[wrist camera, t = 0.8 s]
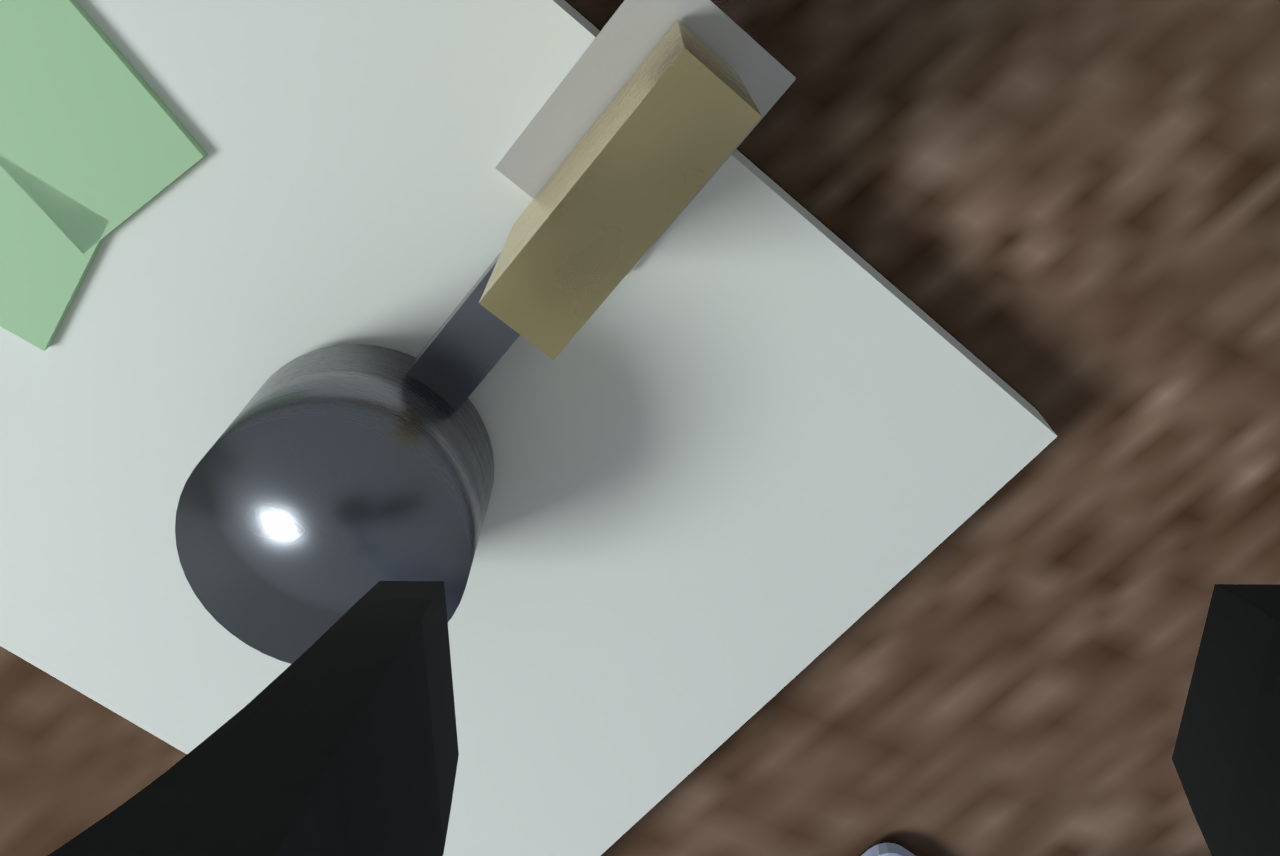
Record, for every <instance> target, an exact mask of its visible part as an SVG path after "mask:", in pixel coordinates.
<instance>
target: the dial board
mask: <svg viewBox="0 0 1280 856" xmlns="http://www.w3.org/2000/svg"><path fill="white" fill-rule="evenodd" d="M676 19H678V20H679V21H680V22H681V23H682V24H684V25H685V26H686V27H687V28H688V29H689V30H690V31H691V32H693V33H694V34H695V35H696V36H697V37H698V38H699V39H700V40H702V41H703V42H704V43H705V44H706V45H707V46H708V47H709V48H710V49H712V50H713V51H714V52H715V53H716V54H717V55H718V56H719V57H721V58H722V59H723V60H724V61H725V62H726V63H727V64H728V65H730V66H731V67H732V68H733V69H734V70H735V71H736V72H737V73H738V74H739V76H740V78H741V79H742V81H743V83H744V85H745V87H746V88H747V90H748V92H749V94H750V96H751V97H752V99H753V101H754V103H755V105H756V106H757V108H758V110H759V112H760V114H761V115H762V117H761V118H760V119H759V121H758V122H757V123H756V124H755V125H754V126H753V128H752V129H751V130H750V131H749V132H748V133H747V135H746V136H745V137H744V138H743V139H742V140H741V142H740V143H739V144H738V145H737V146H736V147H735V149H734V150H733V151H732V152H731V153H730V154H729V156H728V157H727V158H726V159H725V160H724V161H723V163H722V164H721V165H720V166H719V167H718V168H717V170H716V171H715V172H714V173H713V174H712V175H711V177H710V178H709V179H708V180H707V181H706V182H705V184H704V185H703V186H702V187H701V188H700V190H699V191H698V192H697V193H696V194H695V195H694V197H693V198H692V199H691V200H690V201H689V202H688V204H687V205H686V206H685V207H684V208H683V209H682V211H681V212H680V213H679V214H678V215H677V216H676V218H675V219H674V220H673V221H672V222H671V223H670V225H669V226H668V227H667V228H666V229H665V230H664V232H663V233H662V234H661V235H660V236H659V237H658V239H657V240H656V241H655V242H654V243H653V244H652V246H651V247H650V248H649V249H648V250H647V251H646V253H645V254H644V255H643V256H642V257H641V258H640V260H639V261H638V262H637V263H636V264H635V266H634V267H633V268H632V269H631V270H630V271H629V273H628V274H627V275H626V276H625V277H624V278H623V280H622V281H621V282H620V283H619V284H618V285H617V287H616V288H615V289H614V290H613V291H612V292H611V294H610V295H609V296H608V297H607V298H606V299H605V301H604V302H603V303H602V304H601V305H600V306H599V308H598V309H597V310H596V311H595V312H594V313H593V315H592V316H591V317H590V318H589V319H588V320H587V322H586V323H585V324H584V325H583V326H582V327H581V329H580V330H579V331H578V332H577V333H576V334H575V336H574V337H573V338H572V339H571V340H570V341H569V343H568V344H567V345H566V346H565V347H564V349H563V350H562V351H561V352H560V353H559V354H558V356H557V357H556V358H555V359H554V360H553V359H551V358H550V357H549V356H547V355H546V354H545V353H543V352H542V351H541V350H539V349H538V348H537V347H536V346H534V345H533V344H532V343H530V342H529V341H528V340H526V339H525V338H524V337H522V336H521V335H520V336H519V337H518V338H517V339H516V341H515V342H514V343H513V344H512V345H511V347H510V348H509V349H508V350H507V351H506V353H505V354H504V355H503V356H502V357H501V359H500V360H499V361H498V362H497V363H496V365H495V366H494V367H493V368H492V369H491V371H490V372H489V373H488V374H487V375H486V377H485V378H484V379H483V380H482V381H481V383H480V384H479V385H478V386H477V387H476V389H475V390H474V391H473V392H472V393H471V395H470V396H469V397H468V399H469V400H470V401H471V403H472V404H473V405H474V407H475V408H476V410H477V411H478V413H479V415H480V417H481V419H482V421H483V422H484V425H485V427H486V430H487V432H488V435H489V438H490V442H491V446H492V450H493V457H494V482H493V487H492V492H491V497H490V500H489V504H488V508H487V511H486V515H485V519H484V522H483V526H482V530H481V533H480V537H479V541H478V544H477V548H476V552H475V555H474V559H473V563H472V566H471V570H470V574H469V577H468V581H467V585H466V588H465V591H464V594H463V596H462V599H461V602H460V604H459V606H458V608H457V609H456V611H455V613H454V615H453V616H452V618H451V619H450V620H449V622H448V633H449V645H450V657H451V669H452V681H453V693H454V705H455V716H456V728H457V740H458V752H459V756H458V763H457V770H456V777H455V784H454V790H453V797H452V804H451V811H450V817H449V823H448V829H447V835H446V842H445V848H444V853H443V856H601V855H602V854H603V853H604V852H605V851H606V850H607V849H608V848H609V847H610V846H611V845H613V844H614V843H615V842H616V841H617V840H618V839H619V838H620V837H621V836H622V835H623V834H625V833H626V832H627V831H628V830H629V829H630V828H631V827H632V826H633V825H634V824H635V823H637V822H638V821H639V820H640V819H641V818H642V817H643V816H644V815H645V814H646V813H647V812H649V811H650V810H651V809H652V808H653V807H654V806H655V805H656V804H657V803H658V802H659V801H661V800H662V799H663V798H664V797H665V796H666V795H667V794H668V793H669V792H670V791H671V790H673V789H674V788H675V787H676V786H677V785H678V784H679V783H680V782H681V781H682V780H683V779H685V778H686V777H687V776H688V775H689V774H690V773H691V772H692V771H693V770H694V769H695V768H697V767H698V766H699V765H700V764H701V763H702V762H703V761H704V760H705V759H706V758H707V757H709V756H710V755H711V754H712V753H713V752H714V751H715V750H716V749H717V748H718V747H719V746H721V745H722V744H723V743H724V742H725V741H726V740H727V739H728V738H729V737H730V736H731V735H733V734H734V733H735V732H736V731H737V730H738V729H739V728H740V727H741V726H742V725H743V724H745V723H746V722H747V721H748V720H749V719H750V718H751V717H752V716H753V715H754V714H755V713H756V712H758V711H759V710H760V709H761V708H762V707H763V706H764V705H765V704H766V703H767V702H768V701H770V700H771V699H772V698H773V697H774V696H775V695H776V694H777V693H778V692H779V691H780V690H782V689H783V688H784V687H785V686H786V685H787V684H788V683H789V682H790V681H791V680H792V679H794V678H795V677H796V676H797V675H798V674H799V673H800V672H801V671H802V670H803V669H804V668H806V667H807V666H808V665H809V664H810V663H811V662H812V661H813V660H814V659H815V658H816V657H818V656H819V655H820V654H821V653H822V652H823V651H824V650H825V649H826V648H827V647H828V646H830V645H831V644H832V643H833V642H834V641H835V640H836V639H837V638H838V637H839V636H840V635H842V634H843V633H844V632H845V631H846V630H847V629H848V628H849V627H850V626H851V625H852V624H854V623H855V622H856V621H857V620H858V619H859V618H860V617H861V616H862V615H863V614H864V613H866V612H867V611H868V610H869V609H870V608H871V607H872V606H873V605H874V604H875V603H876V602H878V601H879V600H880V599H881V598H882V597H883V596H884V595H885V594H886V593H887V592H888V591H890V590H891V589H892V588H893V587H894V586H895V585H896V584H897V583H898V582H899V581H900V580H902V579H903V578H904V577H905V576H906V575H907V574H908V573H909V572H910V571H911V570H912V569H914V568H915V567H916V566H917V565H918V564H919V563H920V562H921V561H922V560H923V559H924V558H926V557H927V556H928V555H929V554H930V553H931V552H932V551H933V550H934V549H935V548H936V547H938V546H939V545H940V544H941V543H942V542H943V541H944V540H945V539H946V538H947V537H948V536H950V535H951V534H952V533H953V532H954V531H955V530H956V529H957V528H958V527H959V526H960V525H962V524H963V523H964V522H965V521H966V520H967V519H968V518H969V517H970V516H971V515H972V514H973V513H975V512H976V511H977V510H978V509H979V508H980V507H981V506H982V505H983V504H984V503H985V502H987V501H988V500H989V499H990V498H991V497H992V496H993V495H994V494H995V493H996V492H997V491H999V490H1000V489H1001V488H1002V487H1003V486H1004V485H1005V484H1006V483H1007V482H1008V481H1009V480H1011V479H1012V478H1013V477H1014V476H1015V475H1016V474H1017V473H1018V472H1019V471H1020V470H1021V469H1023V468H1024V467H1025V466H1026V465H1027V464H1028V463H1029V462H1030V461H1031V460H1032V459H1033V458H1035V457H1036V456H1037V455H1038V454H1039V453H1040V452H1041V451H1042V450H1043V449H1044V448H1045V447H1047V446H1048V445H1049V444H1050V443H1051V442H1052V441H1053V440H1054V439H1055V438H1056V437H1057V435H1056V434H1055V432H1054V431H1053V430H1052V429H1051V427H1050V426H1049V425H1048V423H1047V422H1046V421H1045V420H1044V418H1043V417H1042V416H1041V415H1040V413H1039V412H1038V411H1037V409H1036V408H1034V407H1033V406H1032V405H1031V404H1030V403H1029V402H1028V401H1026V400H1025V399H1024V398H1023V397H1022V396H1021V395H1019V394H1018V393H1017V392H1016V391H1015V390H1014V389H1013V388H1011V387H1010V386H1009V385H1008V384H1007V383H1006V382H1004V381H1003V380H1002V379H1001V378H1000V377H999V376H998V375H996V374H995V373H994V372H993V371H992V370H991V369H989V368H988V367H987V366H986V365H985V364H984V363H983V362H981V361H980V360H979V359H978V358H977V357H976V356H974V355H973V354H972V353H971V352H970V351H969V350H968V349H966V348H965V347H964V346H963V345H962V344H961V343H959V342H958V341H957V340H956V339H955V338H954V337H953V336H951V335H950V334H949V333H948V332H947V331H946V330H944V329H943V328H942V327H941V326H940V325H939V324H938V323H936V322H935V321H934V320H933V319H932V318H931V317H929V316H928V315H927V314H926V313H925V312H924V311H923V310H921V309H920V308H919V307H918V306H917V305H916V304H914V303H913V302H912V301H911V300H910V299H909V298H908V297H906V296H905V295H904V294H903V293H902V292H901V291H900V290H898V289H897V288H896V287H895V286H894V285H893V284H891V283H890V282H889V281H888V280H887V279H886V278H885V277H883V276H882V275H881V274H880V273H879V272H878V271H876V270H875V269H874V268H873V267H872V266H871V265H870V264H868V263H867V262H866V261H865V260H864V259H863V258H861V257H860V256H859V255H858V254H857V253H856V252H855V251H853V250H852V249H851V248H850V247H849V246H848V245H846V244H845V243H844V242H843V241H842V240H841V239H840V238H838V237H837V236H836V235H835V234H834V233H833V232H831V231H830V230H829V229H828V228H827V227H826V226H825V225H823V224H822V223H821V222H820V221H819V220H818V219H816V218H815V217H814V216H813V215H812V214H811V213H810V212H808V211H807V210H806V209H805V208H804V207H803V206H801V205H800V204H799V203H798V202H797V201H796V200H795V199H793V198H792V197H791V196H790V195H789V194H788V193H786V192H785V191H784V190H783V189H782V188H781V187H780V186H778V185H777V184H776V183H775V182H774V181H773V180H771V179H770V178H769V177H768V176H767V175H766V174H765V173H763V172H762V171H761V170H760V169H759V168H758V167H756V166H755V165H754V164H753V163H752V162H751V161H750V160H748V159H747V158H746V157H745V156H744V155H743V154H741V153H740V152H739V151H738V150H737V147H738V146H739V145H740V144H741V143H742V142H743V140H744V139H745V138H746V137H747V136H748V135H749V133H750V132H751V131H752V130H753V129H754V128H755V126H756V125H757V124H758V123H759V122H760V121H761V119H762V118H763V117H764V116H765V115H766V114H767V112H768V111H769V110H770V109H771V108H772V107H773V105H774V104H775V103H776V102H777V101H778V100H779V98H780V97H781V96H782V95H783V94H784V93H785V91H786V90H787V89H788V88H789V87H790V86H791V84H792V83H793V82H794V81H795V80H796V77H795V76H793V75H792V74H791V73H790V72H789V71H788V70H787V69H786V68H785V67H784V66H782V65H781V64H780V63H779V62H778V61H777V60H776V59H775V58H774V57H772V56H771V55H770V54H769V53H768V52H767V51H766V50H765V49H764V48H763V47H761V46H760V45H759V44H758V43H757V42H756V41H755V40H754V39H753V38H752V37H750V36H749V35H748V34H747V33H746V32H745V31H744V30H743V29H742V28H740V27H739V26H738V25H737V24H736V23H735V22H734V21H733V20H732V19H731V18H729V17H728V16H727V15H726V14H725V13H724V12H723V11H722V10H721V9H719V8H718V7H717V6H716V5H715V4H714V3H713V2H712V1H711V0H624V1H623V3H622V4H621V5H620V6H619V8H618V9H617V10H616V12H615V13H614V14H613V16H612V17H611V18H610V19H609V21H608V22H607V23H606V25H605V26H604V27H603V28H602V30H601V31H600V30H598V29H597V28H596V27H595V26H594V25H593V24H592V23H590V22H589V21H588V20H587V19H586V18H585V17H583V16H582V15H581V14H580V13H579V12H578V11H577V10H575V9H574V8H573V7H572V6H571V5H570V4H568V3H567V2H566V1H565V0H0V646H2V647H3V648H5V649H7V650H8V651H10V652H12V653H14V654H15V655H17V656H19V657H20V658H22V659H24V660H26V661H27V662H29V663H31V664H33V665H34V666H36V667H38V668H39V669H41V670H43V671H45V672H46V673H48V674H50V675H51V676H53V677H55V678H57V679H58V680H60V681H62V682H63V683H65V684H67V685H69V686H70V687H72V688H74V689H76V690H77V691H79V692H81V693H82V694H84V695H86V696H88V697H89V698H91V699H93V700H94V701H96V702H98V703H100V704H101V705H103V706H105V707H106V708H108V709H110V710H112V711H113V712H115V713H117V714H118V715H120V716H122V717H124V718H125V719H127V720H129V721H131V722H132V723H134V724H136V725H137V726H139V727H141V728H143V729H144V730H146V731H148V732H149V733H151V734H153V735H155V736H156V737H158V738H160V739H161V740H163V741H165V742H167V743H168V744H170V745H172V746H173V747H175V748H177V749H179V750H180V751H182V752H184V753H186V754H188V753H190V752H191V751H192V750H193V749H194V748H196V747H197V746H198V745H199V744H201V743H202V742H203V741H204V740H205V739H207V738H208V737H209V736H210V735H211V734H213V733H214V732H215V731H216V730H217V729H219V728H220V727H221V726H222V725H224V724H225V723H226V722H227V721H228V720H230V719H231V718H232V717H233V716H234V715H236V714H237V713H238V712H239V711H240V710H242V709H243V708H244V707H245V706H246V705H247V704H248V703H250V702H251V701H252V700H253V699H254V698H255V697H256V696H257V695H258V694H259V693H260V692H262V691H263V690H264V689H265V688H266V687H267V686H268V685H269V684H270V683H271V682H273V681H274V680H275V679H276V678H277V677H278V676H279V675H280V674H281V673H282V672H284V671H285V670H286V669H287V668H288V667H289V666H290V665H291V664H290V663H287V662H283V661H280V660H278V659H275V658H273V657H270V656H268V655H266V654H263V653H261V652H260V651H258V650H256V649H254V648H252V647H250V646H249V645H247V644H245V643H244V642H242V641H241V640H239V639H238V638H237V637H235V636H234V635H232V634H231V633H230V632H229V631H227V630H226V629H225V628H224V627H223V626H222V625H221V624H219V623H218V622H217V621H216V620H215V619H214V618H213V616H212V615H211V614H210V613H209V612H208V611H207V610H206V609H205V608H204V606H203V605H202V603H201V602H200V601H199V599H198V598H197V596H196V595H195V594H194V592H193V590H192V588H191V586H190V584H189V583H188V581H187V579H186V577H185V574H184V571H183V569H182V566H181V564H180V560H179V556H178V551H177V547H176V537H175V521H176V511H177V507H178V503H179V499H180V495H181V493H182V491H183V488H184V486H185V483H186V481H187V479H188V478H189V476H190V475H191V473H192V471H193V470H194V468H195V467H196V466H197V464H198V463H199V462H200V461H201V459H202V458H203V457H204V456H205V455H206V453H207V452H208V451H209V450H210V448H211V447H212V446H213V445H214V444H215V442H216V441H217V440H218V439H219V438H220V436H221V435H222V434H223V433H224V431H225V430H226V429H227V428H228V427H229V425H230V424H231V423H232V422H233V420H234V419H235V418H236V417H237V416H238V414H239V413H240V412H241V411H242V410H243V408H244V407H245V406H246V405H247V403H248V402H249V401H250V400H251V399H252V397H253V396H254V395H255V394H256V392H257V391H258V390H259V389H260V388H261V386H262V385H263V384H264V383H265V382H266V381H267V380H268V378H269V377H270V376H271V375H273V374H274V373H275V372H276V371H277V370H278V369H280V368H281V367H282V366H284V365H285V364H287V363H288V362H290V361H292V360H293V359H295V358H297V357H299V356H301V355H304V354H306V353H308V352H311V351H314V350H318V349H321V348H325V347H330V346H336V345H344V344H364V345H374V346H380V347H385V348H389V349H394V350H397V351H400V352H403V353H406V354H408V355H411V356H413V357H415V358H416V357H417V356H418V355H419V353H420V352H421V351H422V350H423V348H424V347H425V346H426V345H427V343H428V342H429V341H430V340H431V338H432V337H433V336H434V335H435V333H436V332H437V331H438V330H439V328H440V327H441V326H442V325H443V323H444V322H445V321H446V320H447V318H448V317H449V316H450V315H451V313H452V312H453V311H454V310H455V308H456V307H457V306H458V305H459V303H460V302H461V301H462V300H463V298H464V297H465V296H466V295H467V293H468V292H469V291H470V290H471V288H472V287H473V286H474V285H475V283H476V282H477V281H478V280H479V278H480V277H481V276H482V275H483V273H484V272H485V271H486V270H487V268H488V267H489V266H490V265H491V263H492V262H493V261H494V260H495V258H496V257H497V256H498V255H499V253H500V252H501V251H502V249H503V247H504V244H505V242H506V240H507V238H508V235H509V233H510V231H511V228H512V226H513V224H514V223H515V222H516V220H517V219H518V218H519V216H520V215H521V214H522V213H523V211H524V210H525V209H526V208H527V206H528V205H529V204H530V203H531V201H532V200H533V199H534V198H535V196H536V195H537V194H538V193H539V191H540V190H541V189H542V188H543V186H544V185H545V184H546V183H547V181H548V180H549V179H550V178H551V176H552V175H553V174H554V173H555V171H556V170H557V169H558V167H559V166H560V165H561V164H562V162H563V161H564V160H565V159H566V157H567V156H568V155H569V154H570V152H571V151H572V150H573V149H574V147H575V146H576V145H577V144H578V142H579V141H580V140H581V139H582V137H583V136H584V135H585V134H586V132H587V131H588V130H589V129H590V127H591V126H592V125H593V124H594V122H595V121H596V120H597V118H598V117H599V116H600V115H601V113H602V112H603V111H604V110H605V108H606V107H607V106H608V105H609V103H610V102H611V101H612V100H613V98H614V97H615V96H616V95H617V93H618V92H619V91H620V90H621V88H622V87H623V86H624V85H625V83H626V82H627V81H628V80H629V78H630V77H631V76H632V75H633V73H634V72H635V71H636V69H637V68H638V67H639V66H640V64H641V63H642V62H643V61H644V59H645V58H646V57H647V56H648V54H649V53H650V52H651V51H652V49H653V48H654V47H655V46H656V44H657V43H658V42H659V41H660V39H661V38H662V37H663V36H664V34H665V33H666V32H667V31H668V29H669V28H670V27H671V26H672V24H673V23H674V22H675V20H676Z"/></svg>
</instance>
